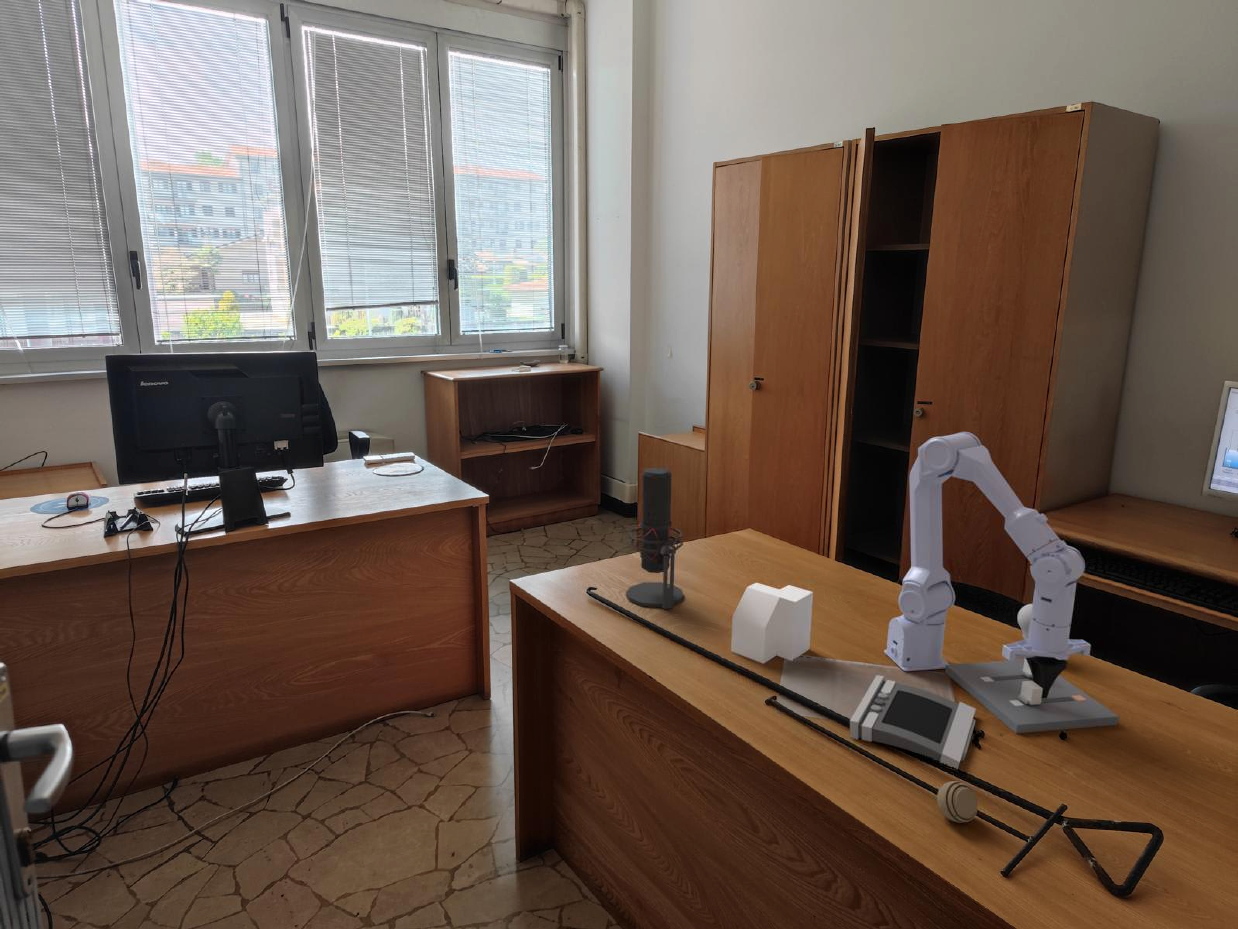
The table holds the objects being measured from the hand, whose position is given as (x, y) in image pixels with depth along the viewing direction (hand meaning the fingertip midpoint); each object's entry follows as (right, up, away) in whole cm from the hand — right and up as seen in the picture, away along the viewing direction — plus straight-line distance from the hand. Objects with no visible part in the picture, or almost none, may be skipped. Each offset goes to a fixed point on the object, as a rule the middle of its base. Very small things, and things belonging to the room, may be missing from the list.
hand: (1040, 695), depth 125 cm
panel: (0, -2, +4) cm, 5 cm away
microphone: (-62, +8, +47) cm, 78 cm away
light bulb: (+10, +2, +21) cm, 23 cm away
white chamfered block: (-41, +2, +21) cm, 46 cm away
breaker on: (+3, +1, +9) cm, 9 cm away
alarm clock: (-23, -4, -5) cm, 24 cm away
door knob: (-26, -9, -26) cm, 37 cm away
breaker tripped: (-2, -1, 0) cm, 2 cm away
